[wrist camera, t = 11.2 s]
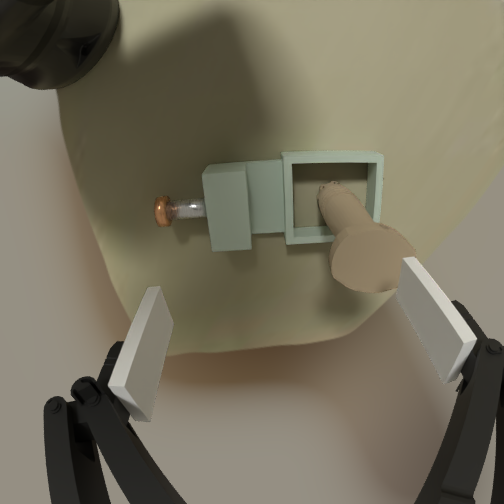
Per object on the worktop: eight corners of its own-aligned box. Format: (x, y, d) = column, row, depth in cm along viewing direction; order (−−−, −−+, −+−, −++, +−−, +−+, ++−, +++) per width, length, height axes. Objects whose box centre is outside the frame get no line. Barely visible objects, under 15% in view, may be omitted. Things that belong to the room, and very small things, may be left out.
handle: (308, 166, 31) (345, 222, 18) (362, 180, 31) (425, 241, 18) (297, 207, 33) (322, 285, 20) (350, 218, 34) (399, 296, 21)
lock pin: (160, 193, 31) (152, 202, 29) (223, 186, 31) (221, 195, 28) (165, 220, 33) (158, 231, 30) (227, 214, 33) (224, 226, 30)
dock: (207, 157, 30) (200, 166, 26) (374, 151, 30) (392, 159, 26) (217, 239, 35) (213, 258, 31) (369, 229, 34) (384, 247, 30)
